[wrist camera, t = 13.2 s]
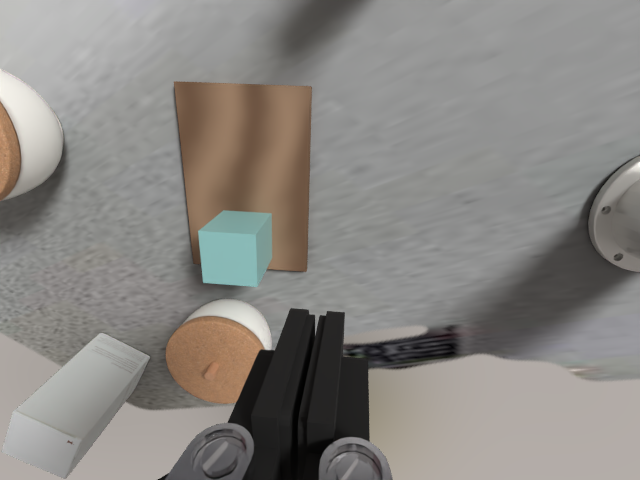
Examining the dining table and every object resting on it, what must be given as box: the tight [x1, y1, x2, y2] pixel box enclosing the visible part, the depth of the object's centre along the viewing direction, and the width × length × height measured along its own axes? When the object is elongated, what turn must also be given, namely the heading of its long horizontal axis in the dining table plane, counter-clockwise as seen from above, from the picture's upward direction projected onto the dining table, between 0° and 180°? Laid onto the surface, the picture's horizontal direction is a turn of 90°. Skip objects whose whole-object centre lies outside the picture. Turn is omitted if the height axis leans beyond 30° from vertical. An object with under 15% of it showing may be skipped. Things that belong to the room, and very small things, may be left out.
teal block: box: [198, 210, 272, 287], centre depth 34 cm, size 5×5×7 cm
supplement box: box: [2, 333, 150, 479], centre depth 40 cm, size 7×7×13 cm
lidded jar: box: [166, 299, 272, 404], centre depth 38 cm, size 11×11×9 cm
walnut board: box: [174, 82, 312, 272], centre depth 35 cm, size 13×19×1 cm
